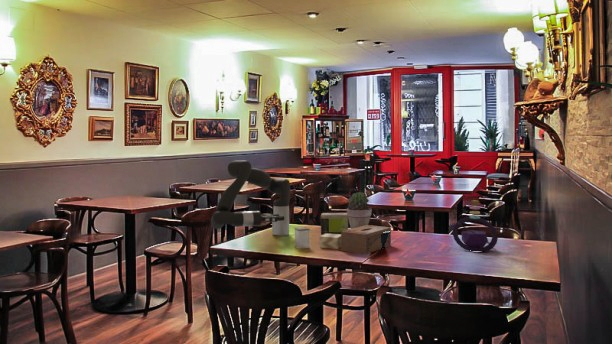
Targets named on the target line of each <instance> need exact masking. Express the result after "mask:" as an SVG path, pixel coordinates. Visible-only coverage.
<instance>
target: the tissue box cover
mask: <svg viewBox="0 0 612 344" xmlns="http://www.w3.org/2000/svg"><path fill="white" fill-rule="evenodd" d="M385 231H390V232H389V236H388V240H387V242H386V244H385V247H386V248H388V246H389V247H391V246H392V243H391V242H392V227H390V226H389V227H388V226H379V225H371V224H370V225H369V224H368V225H365V226H361V227H357V228H353V229H351V228H348V230H345V231H341V247H340V251H341V252H350V253H356V254H362V255H363V254H364V255H367V254H369V253H374V252H376V251H379V250H382V249H383V248H382V243H381V234H382V233H383V232H385ZM381 248H382V249H381Z"/></svg>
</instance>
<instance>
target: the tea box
mask: <svg viewBox="0 0 612 344" xmlns="http://www.w3.org/2000/svg"><path fill="white" fill-rule="evenodd" d="M345 230H349V218H348V213H347V212H322V213H321V215H320V236H322V235H324V234H326V233H328V234H341V231H345Z"/></svg>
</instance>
